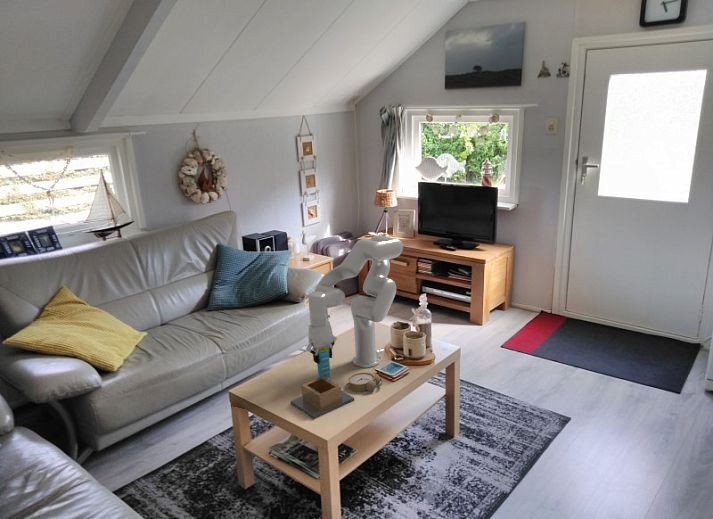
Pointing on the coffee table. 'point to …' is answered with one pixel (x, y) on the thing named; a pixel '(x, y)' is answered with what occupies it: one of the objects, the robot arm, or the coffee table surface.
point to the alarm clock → (364, 381)
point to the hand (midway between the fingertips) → (323, 359)
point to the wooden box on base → (321, 397)
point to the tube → (324, 362)
